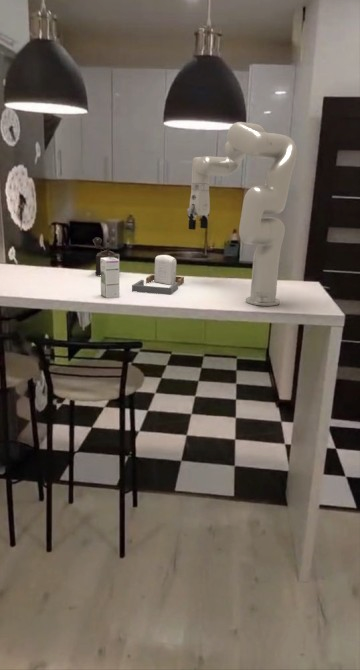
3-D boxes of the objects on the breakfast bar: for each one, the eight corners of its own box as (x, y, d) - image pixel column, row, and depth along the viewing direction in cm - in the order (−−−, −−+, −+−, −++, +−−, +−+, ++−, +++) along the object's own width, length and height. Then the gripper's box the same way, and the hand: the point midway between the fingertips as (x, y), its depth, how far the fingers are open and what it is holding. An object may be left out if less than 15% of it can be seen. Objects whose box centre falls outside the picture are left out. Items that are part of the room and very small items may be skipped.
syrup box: (120, 297, 192) (120, 259, 188) (105, 298, 190) (105, 259, 185) (114, 294, 197) (114, 256, 193) (100, 295, 194) (99, 257, 190)
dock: (179, 286, 219) (179, 280, 218) (146, 283, 221) (146, 277, 221) (183, 282, 227) (184, 276, 226) (151, 280, 230) (151, 274, 229)
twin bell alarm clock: (96, 272, 244) (96, 234, 239) (119, 273, 245) (120, 235, 240) (92, 278, 229) (92, 237, 224) (117, 278, 230) (117, 238, 225)
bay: (170, 294, 201) (171, 288, 200) (132, 291, 204) (132, 285, 203) (178, 288, 213) (178, 282, 213) (141, 285, 216) (141, 279, 216)
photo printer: (177, 284, 223) (178, 256, 219) (171, 285, 219) (172, 256, 216) (158, 281, 228) (159, 253, 225) (152, 282, 225) (153, 254, 221)
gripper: (197, 188, 207) (194, 230, 212) (217, 188, 221) (215, 228, 226) (181, 187, 211) (179, 229, 216) (202, 187, 225) (200, 227, 230)
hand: (197, 228), depth 221 cm, fingers open, 9 cm apart
